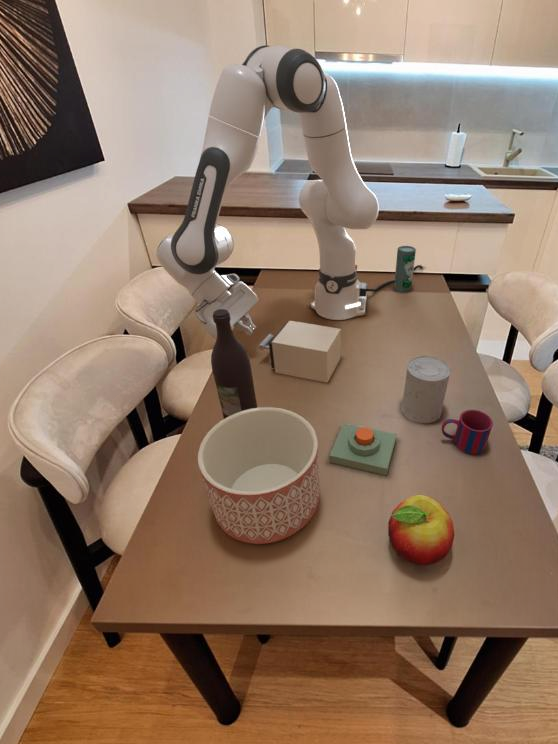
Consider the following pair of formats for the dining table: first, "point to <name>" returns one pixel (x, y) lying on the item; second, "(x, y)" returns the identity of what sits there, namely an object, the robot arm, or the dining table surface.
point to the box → (363, 450)
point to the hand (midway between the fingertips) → (253, 331)
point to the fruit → (421, 530)
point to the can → (404, 268)
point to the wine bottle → (231, 369)
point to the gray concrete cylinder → (425, 388)
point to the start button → (364, 436)
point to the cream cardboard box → (307, 351)
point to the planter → (261, 473)
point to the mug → (471, 431)
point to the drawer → (270, 345)
